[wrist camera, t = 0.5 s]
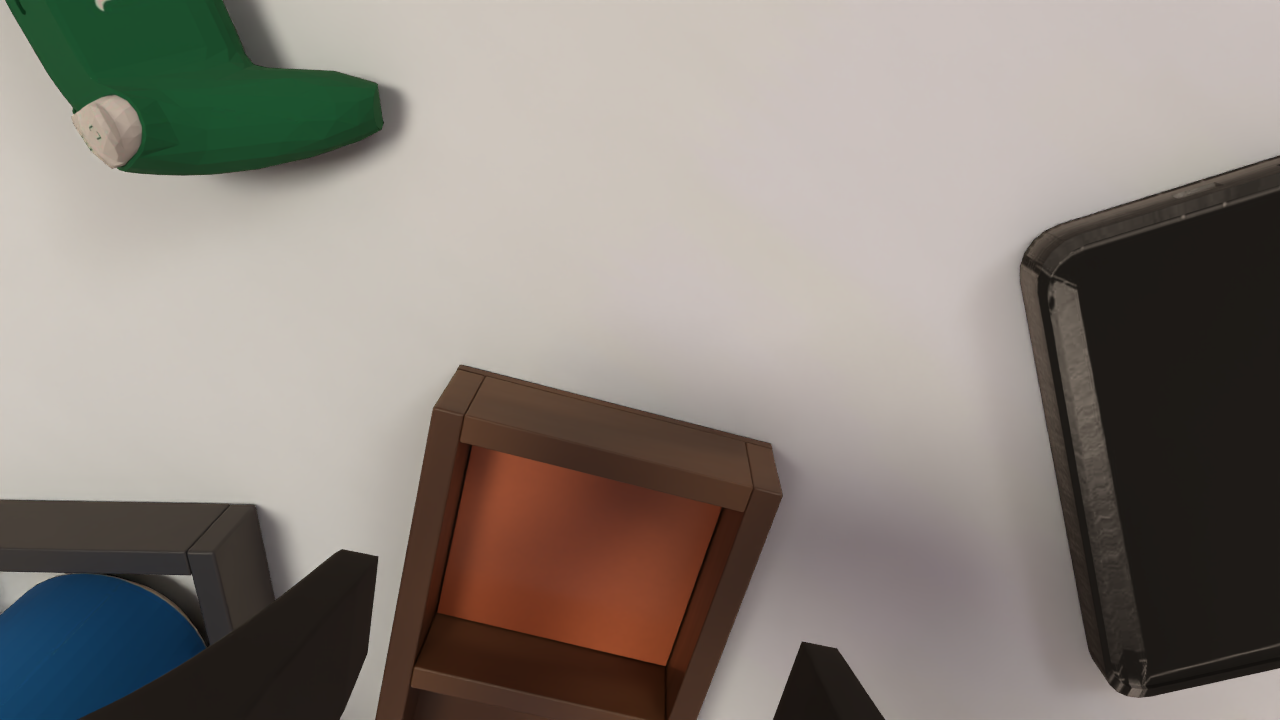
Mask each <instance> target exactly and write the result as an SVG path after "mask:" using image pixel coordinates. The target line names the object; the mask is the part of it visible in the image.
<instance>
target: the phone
mask: <svg viewBox="0 0 1280 720" xmlns="http://www.w3.org/2000/svg"><path fill="white" fill-rule="evenodd" d="M1020 282H1021V288H1022V293H1023V298H1024V304H1025V309H1026V314H1027V320H1028V325H1029V331H1030V336H1031V341H1032V347H1033V352H1034V357H1035V363H1036V368H1037V374H1038V379H1039V384H1040V390H1041V395H1042V400H1043V406H1044V411H1045V417H1046V422H1047V427H1048V433H1049V438H1050V443H1051V449H1052V454H1053V460H1054V465H1055V470H1056V476H1057V481H1058V486H1059V492H1060V497H1061V502H1062V508H1063V513H1064V519H1065V524H1066V529H1067V535H1068V540H1069V545H1070V551H1071V556H1072V562H1073V567H1074V572H1075V578H1076V583H1077V588H1078V594H1079V599H1080V605H1081V610H1082V615H1083V621H1084V626H1085V631H1086V637H1087V642H1088V648H1089V652H1090V654H1091V657H1092V659H1093V661H1094V662H1095V664H1096V665H1097V667H1098V668H1099V670H1100V671H1101V672H1102V674H1103V675H1104V677H1105V678H1106V680H1107V681H1108V683H1109V684H1110V686H1112V687H1113V688H1114V689H1115V690H1116V691H1117V692H1119V693H1121V694H1123V695H1126V696H1130V697H1137V698H1141V697H1150V696H1155V695H1160V694H1164V693H1169V692H1173V691H1178V690H1183V689H1187V688H1192V687H1196V686H1201V685H1205V684H1210V683H1214V682H1219V681H1223V680H1228V679H1232V678H1237V677H1242V676H1246V675H1251V674H1255V673H1260V672H1264V671H1269V670H1273V669H1278V668H1280V156H1277V157H1274V158H1271V159H1268V160H1264V161H1261V162H1258V163H1255V164H1252V165H1248V166H1245V167H1242V168H1239V169H1235V170H1232V171H1229V172H1226V173H1223V174H1219V175H1216V176H1213V177H1210V178H1207V179H1203V180H1200V181H1197V182H1194V183H1191V184H1187V185H1184V186H1181V187H1178V188H1175V189H1171V190H1168V191H1165V192H1162V193H1158V194H1155V195H1152V196H1149V197H1146V198H1142V199H1139V200H1136V201H1133V202H1130V203H1126V204H1123V205H1120V206H1117V207H1114V208H1110V209H1107V210H1104V211H1101V212H1098V213H1094V214H1091V215H1088V216H1085V217H1082V218H1078V219H1075V220H1072V221H1069V222H1065V223H1062V224H1059V225H1057V226H1055V227H1053V228H1051V229H1048V230H1046V231H1045V232H1043V233H1042V234H1041V235H1040V236H1039V237H1038V238H1036V239H1035V240H1034V241H1033V242H1032V244H1031V245H1030V247H1029V248H1028V249H1027V251H1026V252H1025V254H1024V257H1023V260H1022V263H1021V266H1020Z"/></svg>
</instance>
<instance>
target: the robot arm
mask: <svg viewBox="0 0 1280 720" xmlns="http://www.w3.org/2000/svg"><path fill="white" fill-rule="evenodd" d="M377 565H378V556H373V555H368V554H363V553H358V552H353V551H348V550H343V549H341V550H340V551H338V552H336V553H335V554H333V555H332V556H331V557H330V558H328V559H327V560H326V561H325V562H323V563H322V564H321V565H320V566H318V567H317V568H316V569H315V570H313V571H312V572H311V573H310V574H308V575H307V576H306V577H305V578H303V579H302V580H301V581H300V582H298V583H297V584H296V585H295V586H293V587H292V588H291V589H289V590H288V591H287V592H285V593H284V594H283V595H282V596H280V597H279V598H278V599H276V600H275V601H274V602H272V603H271V604H269V605H268V606H267V607H265V608H264V609H263V610H261V611H260V612H258V613H257V614H256V615H254V616H253V617H252V618H250V619H249V620H248V621H246V622H245V623H243V624H242V625H241V626H239V627H238V628H236V629H235V630H233V631H232V632H230V633H229V634H227V635H226V636H224V637H223V638H221V639H220V640H218V641H217V642H215V643H214V644H212V645H211V646H209V647H208V648H206V649H205V650H203V651H201V652H200V653H198V654H197V655H195V656H194V657H192V658H191V659H189V660H187V661H186V662H184V663H183V664H181V665H179V666H178V667H176V668H174V669H173V670H171V671H169V672H168V673H166V674H164V675H162V676H161V677H159V678H157V679H155V680H154V681H152V682H150V683H148V684H146V685H145V686H143V687H141V688H139V689H137V690H136V691H134V692H132V693H130V694H128V695H126V696H125V697H123V698H121V699H119V700H117V701H115V702H113V703H111V704H109V705H106V706H104V707H102V708H100V709H98V710H96V711H94V712H92V713H90V714H88V715H86V716H83V717H81V718H79V719H77V720H339V719H340V717H341V716H342V714H343V712H344V710H345V707H346V705H347V702H348V700H349V698H350V695H351V693H352V690H353V688H354V686H355V683H356V681H357V678H358V676H359V673H360V670H361V668H362V665H363V663H364V660H365V658H366V655H367V652H368V644H369V635H370V626H371V618H372V609H373V600H374V591H375V583H376V574H377ZM773 720H885V719H884V717H883V716H882V715H881V713H880V712H879V710H878V709H877V707H876V706H875V704H874V703H873V701H872V700H871V698H870V697H869V695H868V694H867V692H866V691H865V689H864V688H863V686H862V685H861V683H860V682H859V680H858V679H857V677H856V676H855V674H854V673H853V671H852V670H851V668H850V667H849V665H848V664H847V662H846V661H845V659H844V658H843V657H842V655H841V654H840V652H839V651H838V649H837V648H832V647H827V646H822V645H817V644H812V643H807V642H802V643H801V645H800V648H799V651H798V653H797V656H796V659H795V662H794V664H793V667H792V670H791V672H790V675H789V678H788V681H787V683H786V686H785V689H784V691H783V694H782V697H781V700H780V702H779V705H778V708H777V710H776V713H775V716H774V719H773Z"/></svg>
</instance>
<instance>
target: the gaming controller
mask: <svg viewBox="0 0 1280 720" xmlns="http://www.w3.org/2000/svg"><path fill="white" fill-rule="evenodd" d="M5 1H6V3H7V5H8V6H9V8H10V10H11V12H12V14H13V16H14V17H15V19H16V21H17V22H18V24H19V26H20V27H21V29H22V31H23V32H24V34H25V36H26V38H27V39H28V41H29V43H30V44H31V46H32V48H33V49H34V51H35V53H36V55H37V56H38V58H39V60H40V61H41V63H42V65H43V66H44V68H45V70H46V72H47V73H48V75H49V76H50V78H51V79H52V80H53V82H54V83H55V85H56V86H57V87H58V89H59V90H60V92H61V93H62V94H63V96H64V97H65V98H66V99H67V101H68V102H69V103H70V104H71V105H72V107H73V111H72V112H73V114H74V115H73V116H72V121H73V124H74V126H75V127H76V129H77V130H78V132H79V133H80V135H81V136H82V138H83V140H84V141H85V143H86V144H87V146H88V147H89V149H90V150H91V151H92V152H93V153H94V154H95V155H96V156H97V157H98V158H100V159H101V160H102V161H103V162H104V163H105V164H107V165H108V166H109V167H110V168H112V169H113V168H117V169H119V170H121V171H125V172H131V173H140V174H155V175H212V174H222V173H231V172H239V171H248V170H256V169H261V168H266V167H270V166H275V165H279V164H283V163H288V162H292V161H297V160H301V159H306V158H310V157H314V156H317V155H320V154H323V153H326V152H329V151H332V150H335V149H337V148H340V147H343V146H346V145H349V144H352V143H355V142H358V141H361V140H363V139H365V138H367V137H369V136H370V135H372V134H374V133H376V132H378V131H380V130H382V127H383V124H384V122H383V118H382V111H381V105H380V98H379V91H378V84H377V83H374V82H371V81H368V80H364V79H361V78H357V77H354V76H350V75H347V74H343V73H340V72H336V71H324V70H304V69H283V68H266V67H262V66H257V65H254V64H253V63H252V62H251V60H250V59H249V58H248V57H247V55H246V54H245V51H244V49H243V46H242V44H241V41H240V39H239V36H238V34H237V32H236V30H235V27H234V25H233V23H232V21H231V19H230V16H229V14H228V12H227V10H226V7H225V5H224V3H223V1H222V0H5Z"/></svg>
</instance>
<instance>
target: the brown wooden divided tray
mask: <svg viewBox="0 0 1280 720" xmlns="http://www.w3.org/2000/svg"><path fill="white" fill-rule="evenodd" d="M782 497H783V494H782V489H781V485H780V481H779V477H778V473H777V469H776V464H775V460H774V456H773V452H772V446H771V444H770V443H766V442H762V441H758V440H754V439H750V438H746V437H742V436H738V435H734V434H730V433H726V432H722V431H719V430H715V429H711V428H707V427H703V426H699V425H695V424H691V423H687V422H683V421H679V420H675V419H671V418H667V417H664V416H660V415H656V414H652V413H648V412H644V411H640V410H636V409H632V408H628V407H624V406H620V405H616V404H613V403H609V402H605V401H601V400H597V399H593V398H589V397H585V396H581V395H577V394H573V393H569V392H565V391H561V390H558V389H554V388H550V387H546V386H542V385H538V384H534V383H530V382H526V381H522V380H518V379H514V378H510V377H507V376H503V375H499V374H495V373H491V372H487V371H483V370H479V369H475V368H471V367H467V366H463V365H460V366H459V367H458V369H457V371H456V373H455V374H454V376H453V377H452V379H451V381H450V382H449V384H448V385H447V387H446V388H445V390H444V392H443V393H442V395H441V396H440V398H439V399H438V401H437V403H436V404H435V406H434V407H433V411H432V416H431V422H430V427H429V432H428V438H427V443H426V449H425V454H424V459H423V465H422V470H421V476H420V481H419V486H418V492H417V497H416V503H415V508H414V513H413V519H412V524H411V530H410V535H409V540H408V546H407V551H406V557H405V562H404V567H403V573H402V578H401V584H400V589H399V594H398V600H397V605H396V611H395V616H394V621H393V627H392V632H391V638H390V643H389V648H388V654H387V659H386V665H385V670H384V675H383V681H382V686H381V692H380V697H379V702H378V708H377V713H376V719H375V720H697V717H698V715H699V712H700V709H701V707H702V704H703V702H704V699H705V696H706V694H707V691H708V689H709V686H710V683H711V681H712V678H713V676H714V673H715V670H716V668H717V665H718V663H719V660H720V657H721V655H722V652H723V650H724V647H725V645H726V642H727V639H728V637H729V634H730V632H731V629H732V626H733V624H734V621H735V619H736V616H737V613H738V611H739V608H740V606H741V603H742V600H743V598H744V595H745V593H746V590H747V587H748V585H749V582H750V580H751V577H752V574H753V572H754V569H755V567H756V564H757V561H758V559H759V556H760V554H761V551H762V548H763V546H764V543H765V541H766V538H767V535H768V533H769V530H770V528H771V525H772V522H773V520H774V517H775V515H776V512H777V510H778V507H779V504H780V502H781V499H782Z"/></svg>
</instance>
